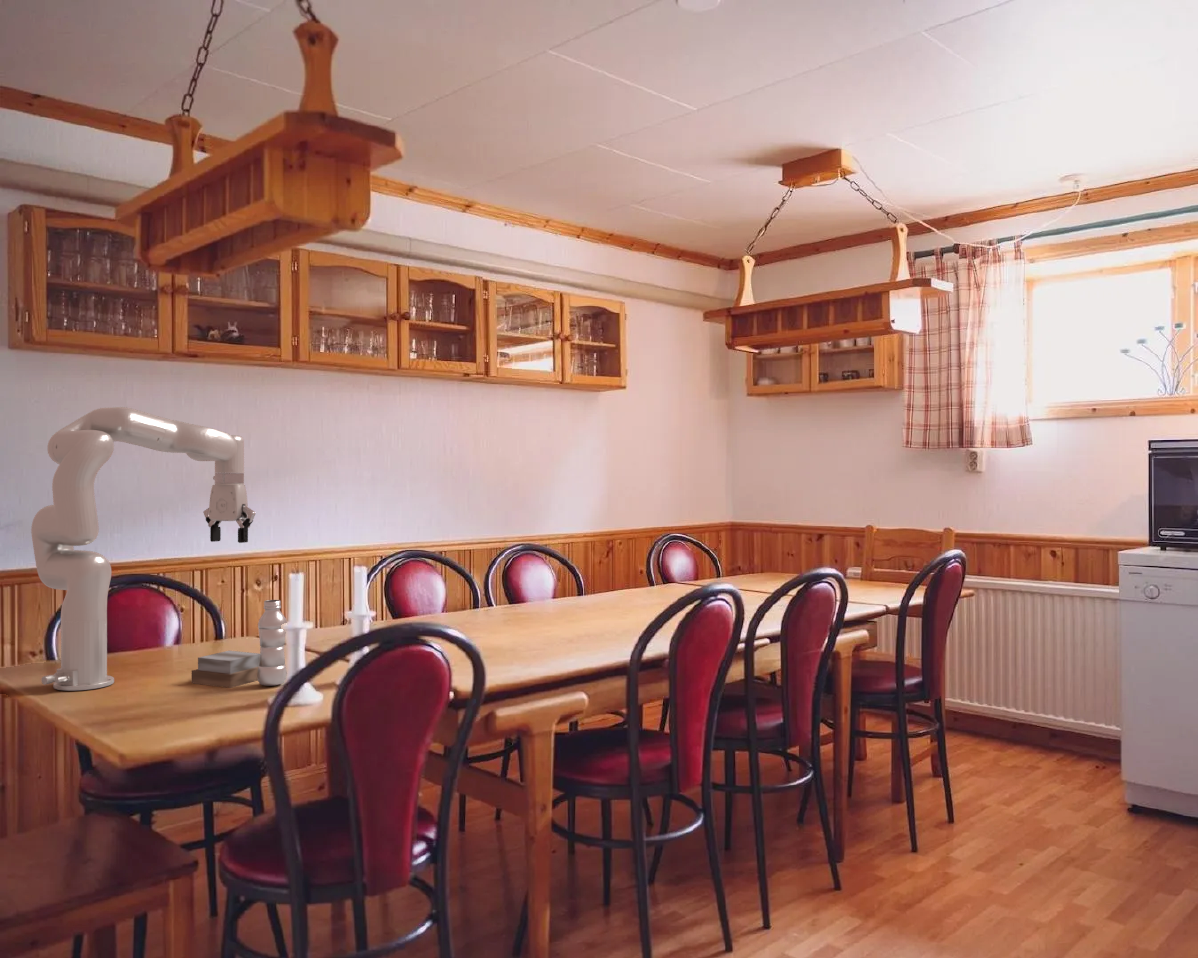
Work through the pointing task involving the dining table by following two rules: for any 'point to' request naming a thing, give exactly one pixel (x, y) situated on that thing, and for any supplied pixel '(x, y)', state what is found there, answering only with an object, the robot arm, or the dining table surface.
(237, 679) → the plinth
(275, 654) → the plastic bottle
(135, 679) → the dining table surface
